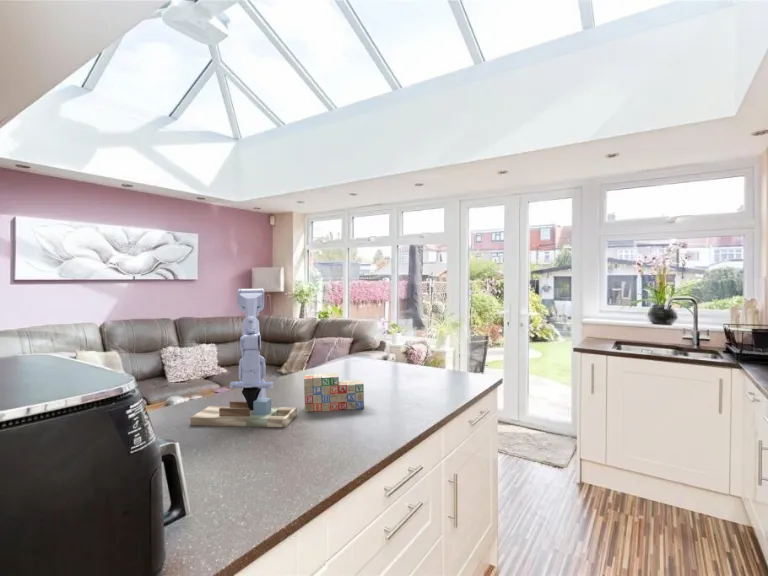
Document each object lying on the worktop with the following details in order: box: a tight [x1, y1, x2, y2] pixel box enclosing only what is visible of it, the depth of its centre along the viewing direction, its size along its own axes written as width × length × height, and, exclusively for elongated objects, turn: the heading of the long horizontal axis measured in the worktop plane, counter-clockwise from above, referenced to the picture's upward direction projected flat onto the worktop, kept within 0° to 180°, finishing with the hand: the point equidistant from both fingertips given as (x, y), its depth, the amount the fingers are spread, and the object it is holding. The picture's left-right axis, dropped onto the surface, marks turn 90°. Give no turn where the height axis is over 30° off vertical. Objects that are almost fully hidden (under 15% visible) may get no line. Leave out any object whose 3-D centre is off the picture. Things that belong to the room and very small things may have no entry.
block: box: [253, 397, 272, 415], centre depth 138 cm, size 4×4×4 cm
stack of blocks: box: [303, 372, 365, 413], centre depth 151 cm, size 21×6×12 cm, turn 96°
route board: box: [189, 400, 298, 428], centre depth 139 cm, size 12×32×5 cm, turn 85°
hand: (252, 409), depth 139 cm, fingers closed
